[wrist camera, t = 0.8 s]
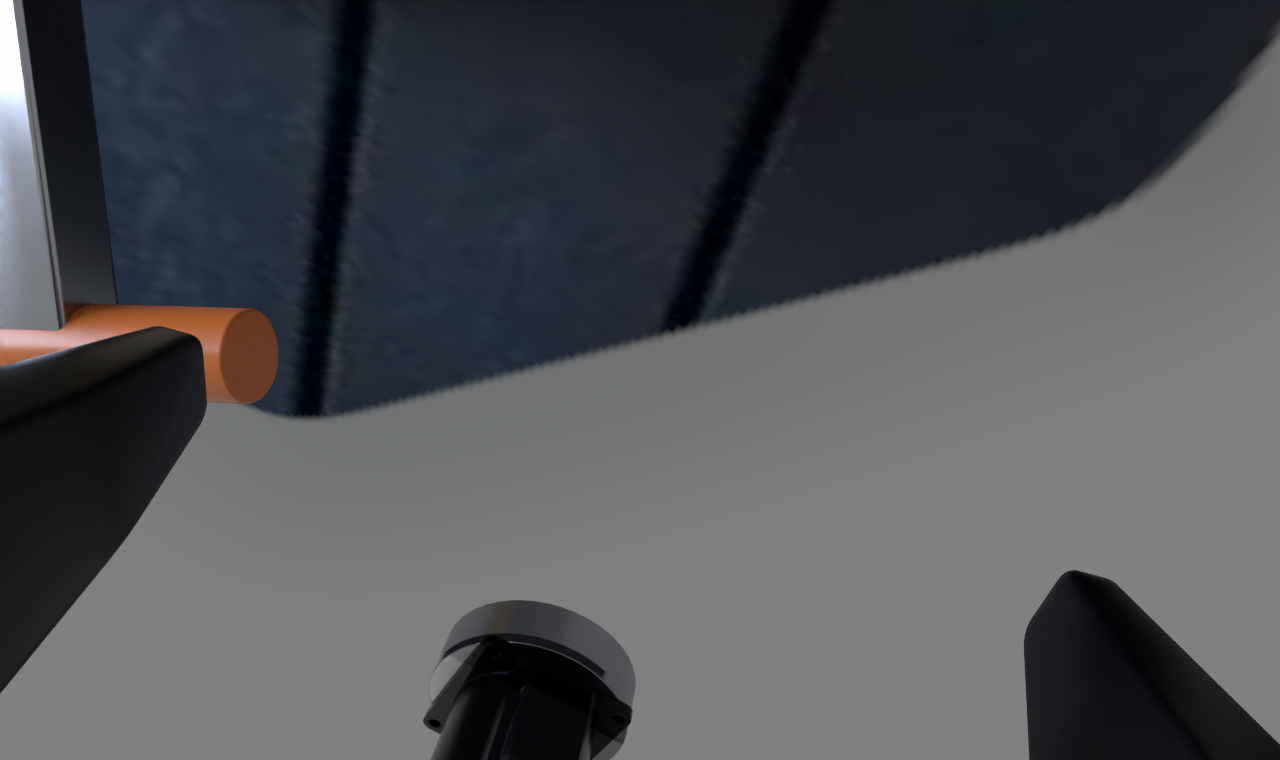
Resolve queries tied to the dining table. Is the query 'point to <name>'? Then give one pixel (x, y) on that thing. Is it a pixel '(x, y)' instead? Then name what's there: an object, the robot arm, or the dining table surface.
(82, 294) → the lever
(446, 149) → the dining table surface
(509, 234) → the dining table surface
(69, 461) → the robot arm
